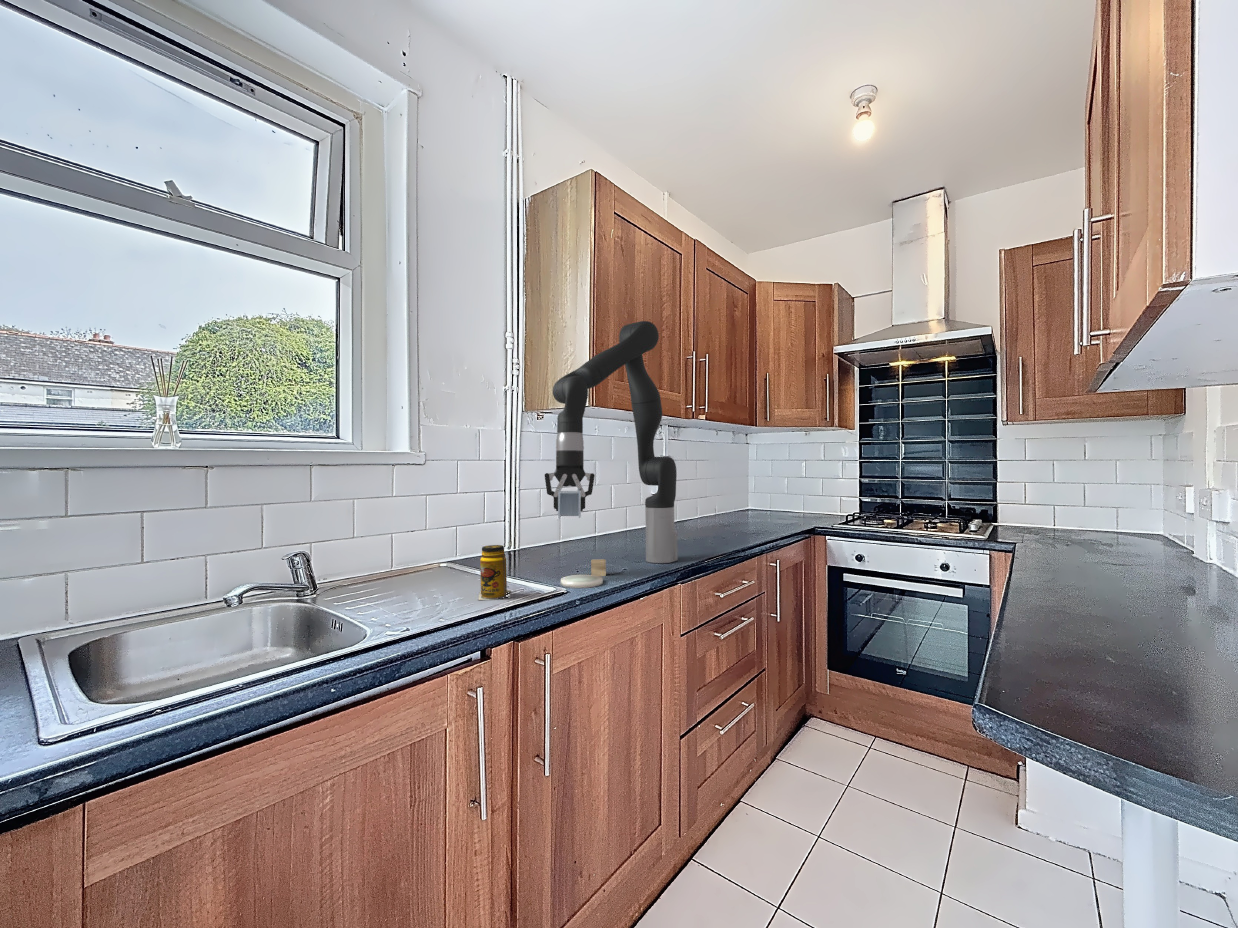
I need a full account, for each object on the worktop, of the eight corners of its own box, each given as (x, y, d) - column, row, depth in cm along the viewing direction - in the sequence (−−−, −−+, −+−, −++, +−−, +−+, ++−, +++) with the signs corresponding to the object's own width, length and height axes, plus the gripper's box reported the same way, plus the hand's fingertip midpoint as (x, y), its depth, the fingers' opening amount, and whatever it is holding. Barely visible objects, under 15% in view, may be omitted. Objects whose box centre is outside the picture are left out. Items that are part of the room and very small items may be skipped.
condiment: (478, 600, 129) (477, 548, 129) (479, 592, 137) (479, 543, 137) (510, 598, 130) (509, 547, 130) (510, 590, 138) (509, 542, 138)
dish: (589, 577, 153) (589, 572, 153) (610, 584, 144) (610, 579, 144) (553, 582, 147) (553, 577, 147) (573, 589, 138) (573, 584, 138)
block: (591, 573, 159) (591, 559, 159) (605, 573, 159) (605, 559, 159) (591, 576, 155) (591, 562, 155) (605, 576, 155) (605, 561, 155)
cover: (559, 516, 156) (559, 490, 156) (580, 515, 156) (580, 490, 156) (558, 517, 150) (558, 491, 150) (580, 517, 150) (580, 491, 150)
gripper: (542, 448, 149) (542, 511, 149) (596, 449, 150) (596, 511, 149) (544, 450, 157) (544, 510, 156) (595, 450, 157) (595, 510, 157)
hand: (569, 510), depth 153 cm, fingers closed on cover, 6 cm apart
